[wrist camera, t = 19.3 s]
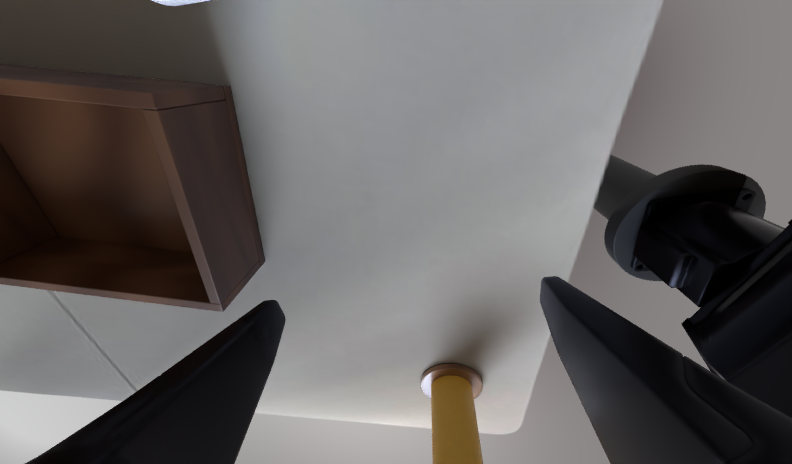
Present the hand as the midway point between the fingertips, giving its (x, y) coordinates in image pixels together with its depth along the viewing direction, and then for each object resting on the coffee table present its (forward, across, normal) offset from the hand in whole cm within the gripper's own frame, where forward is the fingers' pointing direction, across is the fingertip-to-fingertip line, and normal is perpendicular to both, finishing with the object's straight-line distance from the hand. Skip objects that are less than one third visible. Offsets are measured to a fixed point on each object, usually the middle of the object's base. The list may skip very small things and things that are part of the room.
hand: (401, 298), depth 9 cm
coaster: (+13, 0, +26) cm, 29 cm away
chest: (+13, +22, -3) cm, 26 cm away
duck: (+12, 0, +26) cm, 28 cm away
